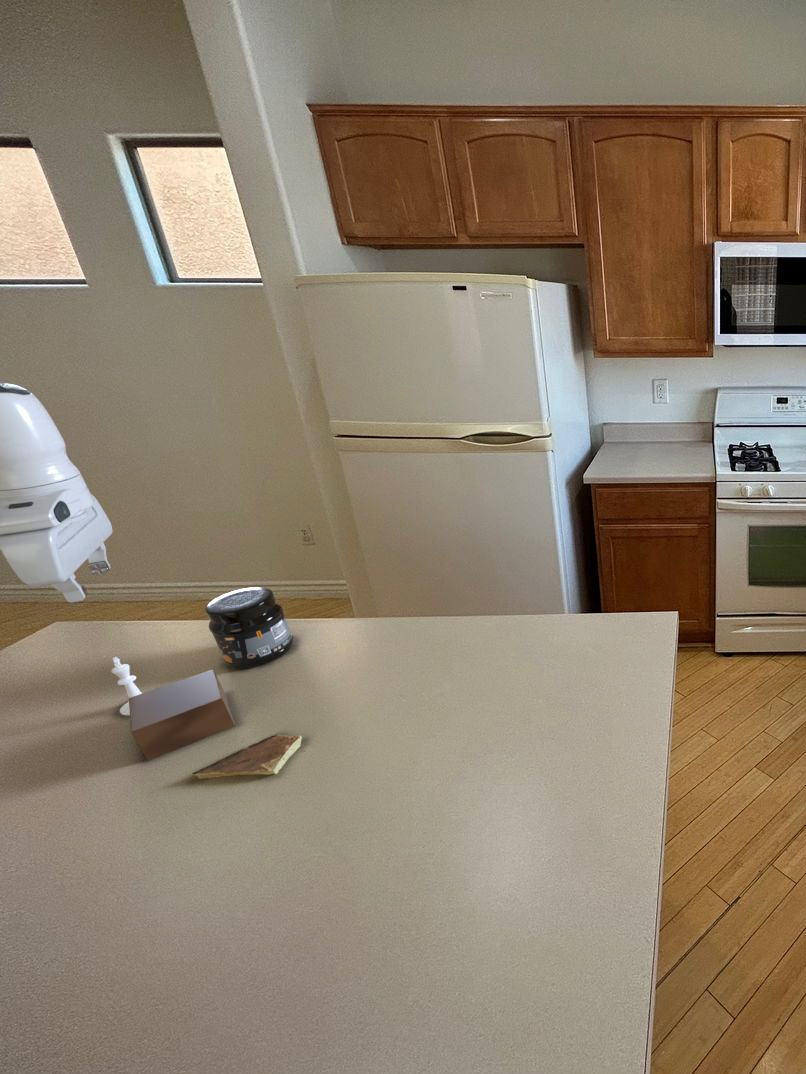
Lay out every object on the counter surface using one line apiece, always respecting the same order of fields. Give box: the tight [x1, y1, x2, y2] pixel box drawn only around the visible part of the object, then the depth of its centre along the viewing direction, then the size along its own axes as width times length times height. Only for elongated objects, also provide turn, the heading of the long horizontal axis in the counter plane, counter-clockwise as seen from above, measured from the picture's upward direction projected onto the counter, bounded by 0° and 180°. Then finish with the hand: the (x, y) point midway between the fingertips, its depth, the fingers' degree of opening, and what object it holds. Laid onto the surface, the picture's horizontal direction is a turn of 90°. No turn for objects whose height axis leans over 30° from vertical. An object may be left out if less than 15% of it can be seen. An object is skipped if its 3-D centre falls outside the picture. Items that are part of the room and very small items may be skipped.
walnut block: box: [128, 668, 236, 762], centre depth 86 cm, size 10×10×6 cm
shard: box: [191, 733, 303, 779], centre depth 81 cm, size 11×8×2 cm
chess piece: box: [111, 656, 143, 716], centre depth 89 cm, size 5×5×10 cm
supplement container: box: [204, 586, 295, 670], centre depth 102 cm, size 10×10×12 cm
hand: (91, 585), depth 83 cm, fingers open, 8 cm apart
